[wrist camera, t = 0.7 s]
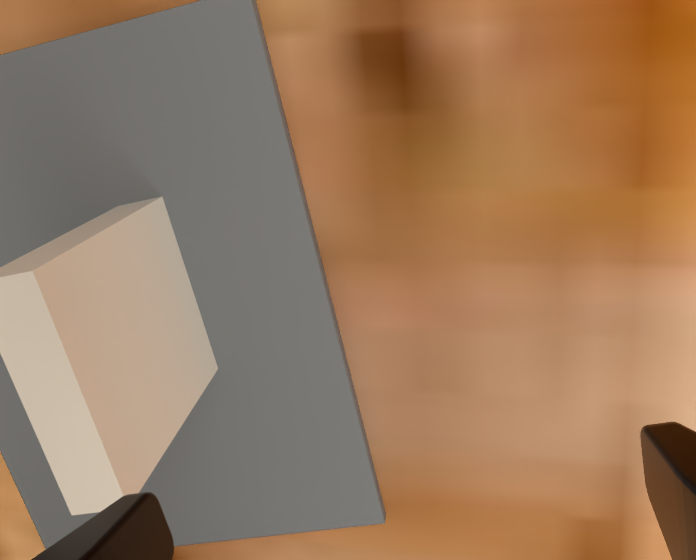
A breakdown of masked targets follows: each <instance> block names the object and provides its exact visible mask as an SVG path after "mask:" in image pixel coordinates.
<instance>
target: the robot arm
mask: <svg viewBox="0 0 696 560" xmlns="http://www.w3.org/2000/svg"><path fill="white" fill-rule="evenodd" d="M640 436H641V447H642V456H643V466H644V475H645V483H646V488H647V492H648V496H649V499H650V502H651V504H652V507H653V510H654V512H655V515H656V518H657V520H658V523H659V526H660V528H661V531H662V534H663V536H664V539H665V541H666V544H667V547H668V549H669V552H670V555H671V557H672V560H696V432H695V431H693V430H691V429H689V428H687V427H685V426H683V425H681V424H679V423H677V422H667V423H659V424H652V425H646V426H644V427H643V428H642V430H641V435H640ZM173 553H174V541H173V537H172V534H171V531H170V528H169V526H168V523H167V521H166V518H165V516H164V513H163V510H162V508H161V505H160V503H159V500H158V498H157V497H156V496H155V495H154V494H153V493H151V492H142V493H135V494H127V495H125V496H123V497H121V498H120V499H118V500H117V501H115V502H114V503H112V504H111V505H109V506H108V507H107V508H105V509H104V510H102V511H101V512H99V513H98V514H96V515H95V516H94V517H92V518H91V519H89V520H88V521H86V522H85V523H84V524H82V525H81V526H79V527H78V528H76V529H75V530H73V531H72V532H71V533H69V534H68V535H66V536H65V537H63V538H62V539H60V540H59V541H58V542H56V543H55V544H53V545H52V546H50V547H49V548H47V549H46V550H45V551H43V552H42V553H40V554H39V555H37V556H36V557H35V558H33V559H32V560H172V558H173Z"/></svg>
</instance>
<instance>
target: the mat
mask: <svg viewBox="0 0 696 560" xmlns="http://www.w3.org/2000/svg"><path fill="white" fill-rule="evenodd" d="M157 197H163V200H164V203H165V206H166V209H167V212H168V216H169V219H170V222H171V225H172V228H173V231H174V234H175V237H176V240H177V243H178V246H179V249H180V252H181V256H182V259H183V262H184V265H185V268H186V271H187V274H188V277H189V280H190V283H191V286H192V289H193V293H194V296H195V299H196V302H197V305H198V308H199V311H200V314H201V317H202V320H203V323H204V326H205V329H206V333H207V336H208V339H209V342H210V345H211V348H212V351H213V354H214V357H215V360H216V363H217V366H218V370H217V371H216V373H215V375H214V376H213V378H212V379H211V381H210V382H209V384H208V385H207V387H206V389H205V390H204V392H203V393H202V395H201V396H200V398H199V400H198V401H197V403H196V404H195V406H194V407H193V409H192V410H191V412H190V414H189V415H188V417H187V418H186V420H185V421H184V423H183V425H182V426H181V428H180V429H179V431H178V432H177V434H176V435H175V437H174V439H173V440H172V442H171V443H170V445H169V446H168V448H167V450H166V451H165V453H164V454H163V456H162V457H161V459H160V460H159V462H158V464H157V465H156V467H155V468H154V470H153V471H152V473H151V475H150V476H149V478H148V479H147V481H146V482H145V484H144V485H143V487H142V489H141V490H140V492H139V493H142V492H151V493H153V494H154V495H155V496H156V497H157V498H158V500H159V503H160V505H161V508H162V510H163V513H164V516H165V518H166V521H167V523H168V526H169V528H170V531H171V534H172V537H173V541H174V546H182V545H191V544H201V543H210V542H219V541H228V540H237V539H246V538H255V537H265V536H274V535H283V534H292V533H301V532H310V531H319V530H329V529H338V528H347V527H356V526H365V525H374V524H383V523H385V517H386V513H385V509H384V505H383V501H382V497H381V493H380V489H379V485H378V481H377V477H376V473H375V469H374V465H373V461H372V457H371V454H370V450H369V446H368V442H367V438H366V434H365V430H364V426H363V422H362V418H361V414H360V410H359V406H358V402H357V398H356V394H355V390H354V386H353V383H352V379H351V375H350V371H349V367H348V363H347V359H346V355H345V351H344V347H343V343H342V339H341V335H340V331H339V327H338V323H337V319H336V315H335V312H334V308H333V304H332V300H331V296H330V292H329V288H328V284H327V280H326V276H325V272H324V268H323V264H322V260H321V256H320V252H319V248H318V245H317V241H316V237H315V233H314V229H313V225H312V221H311V217H310V213H309V209H308V205H307V201H306V197H305V193H304V189H303V185H302V181H301V177H300V174H299V170H298V166H297V162H296V158H295V154H294V150H293V146H292V142H291V138H290V134H289V130H288V126H287V122H286V118H285V114H284V110H283V106H282V103H281V99H280V95H279V91H278V87H277V83H276V79H275V75H274V71H273V67H272V63H271V59H270V55H269V51H268V47H267V43H266V39H265V35H264V32H263V28H262V24H261V20H260V16H259V12H258V8H257V4H256V0H201V1H197V2H194V3H190V4H186V5H183V6H179V7H175V8H171V9H168V10H164V11H160V12H157V13H153V14H149V15H146V16H142V17H138V18H135V19H131V20H127V21H124V22H120V23H116V24H113V25H109V26H105V27H102V28H98V29H94V30H91V31H87V32H83V33H80V34H76V35H72V36H69V37H65V38H61V39H58V40H54V41H50V42H47V43H43V44H39V45H36V46H32V47H28V48H25V49H21V50H17V51H14V52H10V53H6V54H3V55H0V267H2V266H4V265H6V264H8V263H10V262H12V261H14V260H16V259H17V258H19V257H21V256H23V255H25V254H27V253H29V252H31V251H33V250H35V249H37V248H39V247H40V246H42V245H44V244H46V243H48V242H50V241H52V240H54V239H56V238H58V237H60V236H62V235H63V234H65V233H67V232H69V231H71V230H73V229H75V228H77V227H79V226H81V225H83V224H85V223H86V222H88V221H90V220H92V219H94V218H96V217H98V216H100V215H102V214H104V213H106V212H108V211H109V210H111V209H113V208H115V207H117V206H120V205H125V204H130V203H134V202H139V201H143V200H148V199H153V198H157ZM0 452H1V454H2V456H3V458H4V460H5V462H6V464H7V467H8V469H9V471H10V473H11V475H12V477H13V480H14V482H15V484H16V486H17V488H18V490H19V492H20V495H21V497H22V499H23V501H24V503H25V505H26V508H27V510H28V512H29V514H30V516H31V518H32V520H33V523H34V525H35V527H36V529H37V531H38V533H39V536H40V538H41V540H42V542H43V544H44V546H45V548H46V549H47V548H49V547H50V546H52V545H53V544H55V543H56V542H58V541H59V540H60V539H62V538H63V537H65V536H66V535H68V534H69V533H71V532H72V531H73V530H75V529H76V528H78V527H79V526H81V525H82V524H84V523H85V522H86V521H88V520H89V519H91V518H92V517H94V516H95V515H96V514H98V513H99V512H97V513H88V514H80V515H71V513H70V511H69V508H68V506H67V504H66V502H65V499H64V497H63V495H62V492H61V490H60V488H59V486H58V483H57V481H56V479H55V477H54V474H53V472H52V470H51V467H50V465H49V463H48V461H47V458H46V456H45V454H44V452H43V449H42V447H41V445H40V442H39V440H38V438H37V436H36V433H35V431H34V429H33V427H32V424H31V422H30V420H29V417H28V415H27V413H26V411H25V408H24V406H23V404H22V402H21V399H20V397H19V395H18V392H17V390H16V388H15V386H14V383H13V381H12V379H11V377H10V374H9V372H8V370H7V367H6V365H5V363H4V361H3V358H2V356H1V354H0Z"/></svg>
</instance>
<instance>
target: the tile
mask: <svg viewBox="0 0 696 560" xmlns="http://www.w3.org/2000/svg"><path fill="white" fill-rule="evenodd" d="M0 354H1V356H2V358H3V361H4V363H5V365H6V367H7V370H8V372H9V374H10V377H11V379H12V381H13V383H14V386H15V388H16V390H17V392H18V395H19V397H20V399H21V402H22V404H23V406H24V408H25V411H26V413H27V415H28V417H29V420H30V422H31V424H32V427H33V429H34V431H35V433H36V436H37V438H38V440H39V442H40V445H41V447H42V449H43V452H44V454H45V456H46V458H47V461H48V463H49V465H50V467H51V470H52V472H53V474H54V477H55V479H56V481H57V483H58V486H59V488H60V490H61V492H62V495H63V497H64V499H65V502H66V504H67V506H68V508H69V511H70V513H71V515H80V514H88V513H97V512H101V511H102V510H104V509H105V508H107V507H108V506H109V505H111V504H112V503H114V502H115V501H117V500H118V499H120V498H121V497H123V496H125V495H127V494H135V493H139V492H140V490H141V489H142V487H143V485H144V484H145V482H146V481H147V479H148V478H149V476H150V475H151V473H152V471H153V470H154V468H155V467H156V465H157V464H158V462H159V460H160V459H161V457H162V456H163V454H164V453H165V451H166V450H167V448H168V446H169V445H170V443H171V442H172V440H173V439H174V437H175V435H176V434H177V432H178V431H179V429H180V428H181V426H182V425H183V423H184V421H185V420H186V418H187V417H188V415H189V414H190V412H191V410H192V409H193V407H194V406H195V404H196V403H197V401H198V400H199V398H200V396H201V395H202V393H203V392H204V390H205V389H206V387H207V385H208V384H209V382H210V381H211V379H212V378H213V376H214V375H215V373H216V371H217V370H218V366H217V363H216V360H215V357H214V354H213V351H212V348H211V345H210V342H209V339H208V336H207V333H206V329H205V326H204V323H203V320H202V317H201V314H200V311H199V308H198V305H197V302H196V299H195V296H194V293H193V289H192V286H191V283H190V280H189V277H188V274H187V271H186V268H185V265H184V262H183V259H182V256H181V252H180V249H179V246H178V243H177V240H176V237H175V234H174V231H173V228H172V225H171V222H170V219H169V216H168V212H167V209H166V206H165V203H164V200H163V197H157V198H153V199H148V200H143V201H139V202H134V203H130V204H125V205H120V206H117V207H115V208H113V209H111V210H109V211H108V212H106V213H104V214H102V215H100V216H98V217H96V218H94V219H92V220H90V221H88V222H86V223H85V224H83V225H81V226H79V227H77V228H75V229H73V230H71V231H69V232H67V233H65V234H63V235H62V236H60V237H58V238H56V239H54V240H52V241H50V242H48V243H46V244H44V245H42V246H40V247H39V248H37V249H35V250H33V251H31V252H29V253H27V254H25V255H23V256H21V257H19V258H17V259H16V260H14V261H12V262H10V263H8V264H6V265H4V266H2V267H0Z"/></svg>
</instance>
